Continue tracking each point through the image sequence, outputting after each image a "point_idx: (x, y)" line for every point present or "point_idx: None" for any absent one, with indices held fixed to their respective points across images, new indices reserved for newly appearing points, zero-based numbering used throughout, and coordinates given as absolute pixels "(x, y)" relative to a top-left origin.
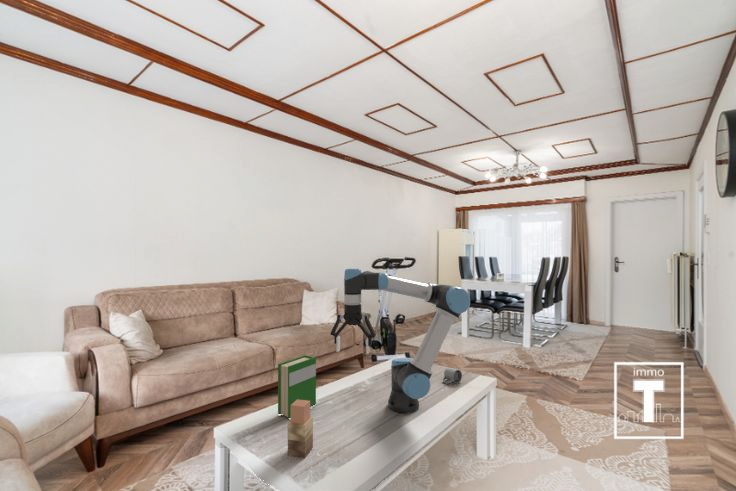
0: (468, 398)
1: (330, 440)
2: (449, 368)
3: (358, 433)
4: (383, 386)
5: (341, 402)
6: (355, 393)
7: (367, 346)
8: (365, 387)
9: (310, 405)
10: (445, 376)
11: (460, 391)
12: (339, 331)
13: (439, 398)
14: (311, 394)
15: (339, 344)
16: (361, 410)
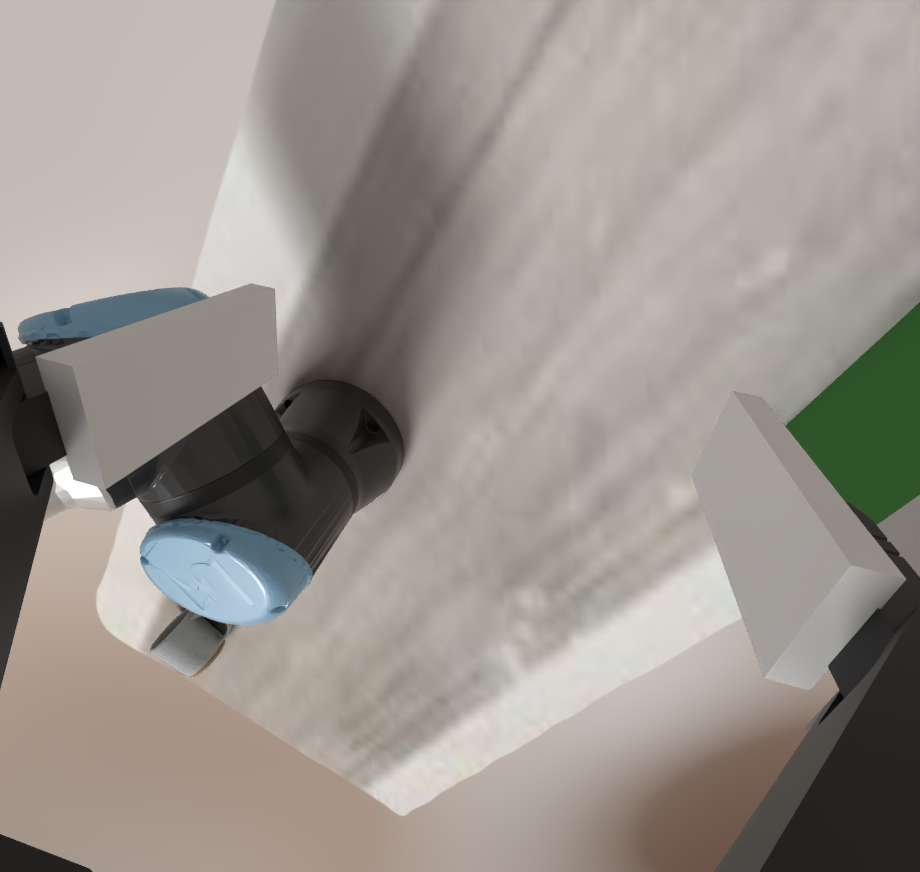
0: None
1: (671, 39)
2: (185, 668)
3: (514, 153)
4: (441, 615)
5: (620, 487)
6: (557, 567)
7: (175, 314)
8: (516, 614)
9: (800, 428)
10: (216, 641)
11: None
12: (895, 730)
13: None
14: (817, 464)
15: (730, 514)
16: (517, 405)
